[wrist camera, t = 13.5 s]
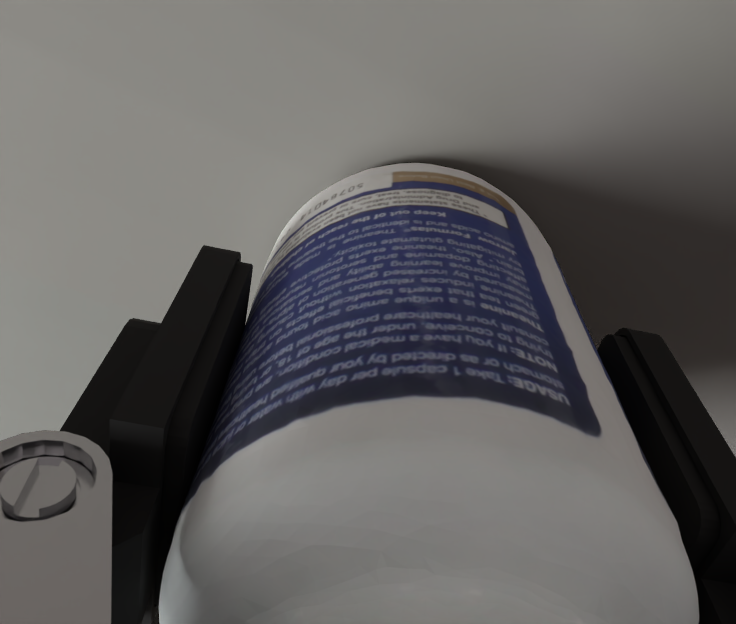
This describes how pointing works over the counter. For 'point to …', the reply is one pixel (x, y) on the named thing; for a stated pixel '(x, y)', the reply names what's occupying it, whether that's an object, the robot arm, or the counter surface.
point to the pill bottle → (421, 433)
